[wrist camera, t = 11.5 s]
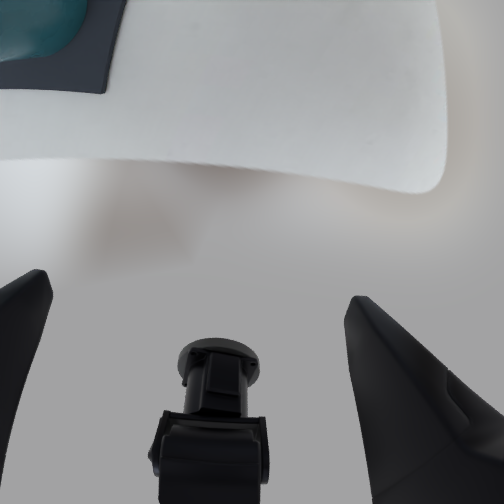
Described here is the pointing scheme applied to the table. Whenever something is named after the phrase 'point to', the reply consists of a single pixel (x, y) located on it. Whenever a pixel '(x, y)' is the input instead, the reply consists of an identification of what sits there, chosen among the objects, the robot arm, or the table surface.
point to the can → (38, 26)
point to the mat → (72, 56)
